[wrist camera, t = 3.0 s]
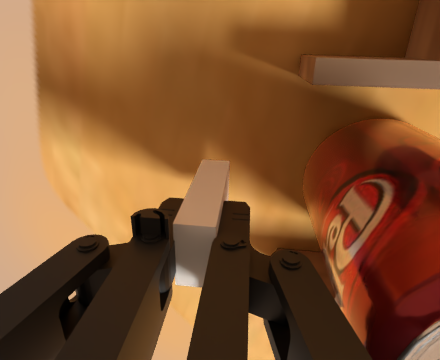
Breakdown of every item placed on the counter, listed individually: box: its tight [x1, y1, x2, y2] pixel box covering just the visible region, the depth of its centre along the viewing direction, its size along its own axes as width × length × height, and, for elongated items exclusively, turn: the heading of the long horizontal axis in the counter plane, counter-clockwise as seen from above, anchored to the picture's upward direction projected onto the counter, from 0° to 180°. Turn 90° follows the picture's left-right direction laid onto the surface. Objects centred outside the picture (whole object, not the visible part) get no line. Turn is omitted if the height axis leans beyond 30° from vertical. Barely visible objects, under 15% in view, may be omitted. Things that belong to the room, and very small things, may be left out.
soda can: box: [303, 118, 440, 360], centre depth 12 cm, size 7×7×12 cm
